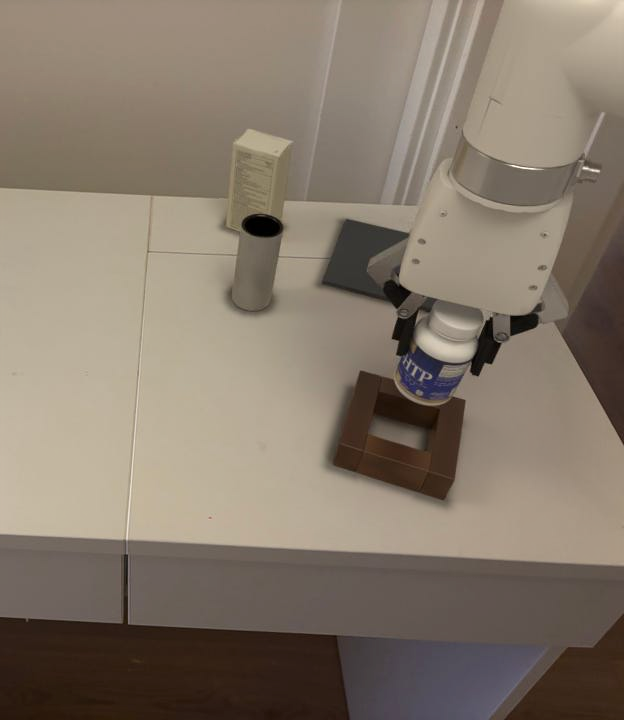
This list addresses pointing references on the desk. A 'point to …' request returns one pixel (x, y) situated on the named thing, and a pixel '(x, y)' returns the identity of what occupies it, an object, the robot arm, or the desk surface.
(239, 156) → the cosmetic box
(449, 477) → the holder
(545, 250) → the robot arm
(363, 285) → the mat
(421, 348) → the pill bottle
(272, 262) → the grey hollow tube
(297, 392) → the desk surface
